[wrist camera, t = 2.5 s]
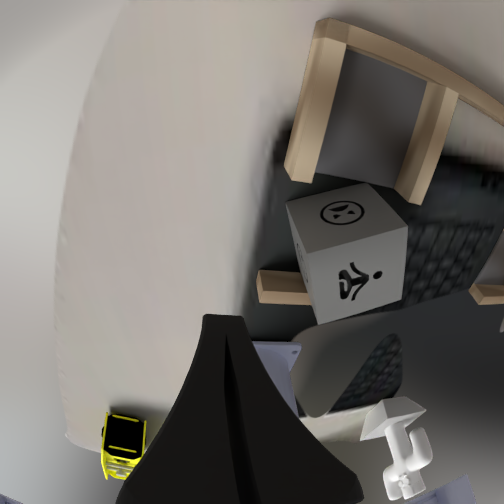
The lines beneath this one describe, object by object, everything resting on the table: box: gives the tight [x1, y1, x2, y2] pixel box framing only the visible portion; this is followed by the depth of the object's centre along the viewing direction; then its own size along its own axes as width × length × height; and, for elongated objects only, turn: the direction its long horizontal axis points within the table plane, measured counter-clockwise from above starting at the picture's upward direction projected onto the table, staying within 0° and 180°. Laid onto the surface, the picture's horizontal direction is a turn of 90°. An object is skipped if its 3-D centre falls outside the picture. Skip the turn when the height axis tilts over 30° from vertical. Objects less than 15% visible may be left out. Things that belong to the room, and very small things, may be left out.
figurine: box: [360, 396, 433, 500], centre depth 31 cm, size 7×9×15 cm
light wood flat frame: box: [256, 18, 504, 305], centre depth 18 cm, size 16×28×2 cm, turn 80°
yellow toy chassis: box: [101, 412, 146, 480], centre depth 32 cm, size 16×6×8 cm, turn 159°
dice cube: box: [285, 182, 408, 325], centre depth 17 cm, size 5×5×5 cm
